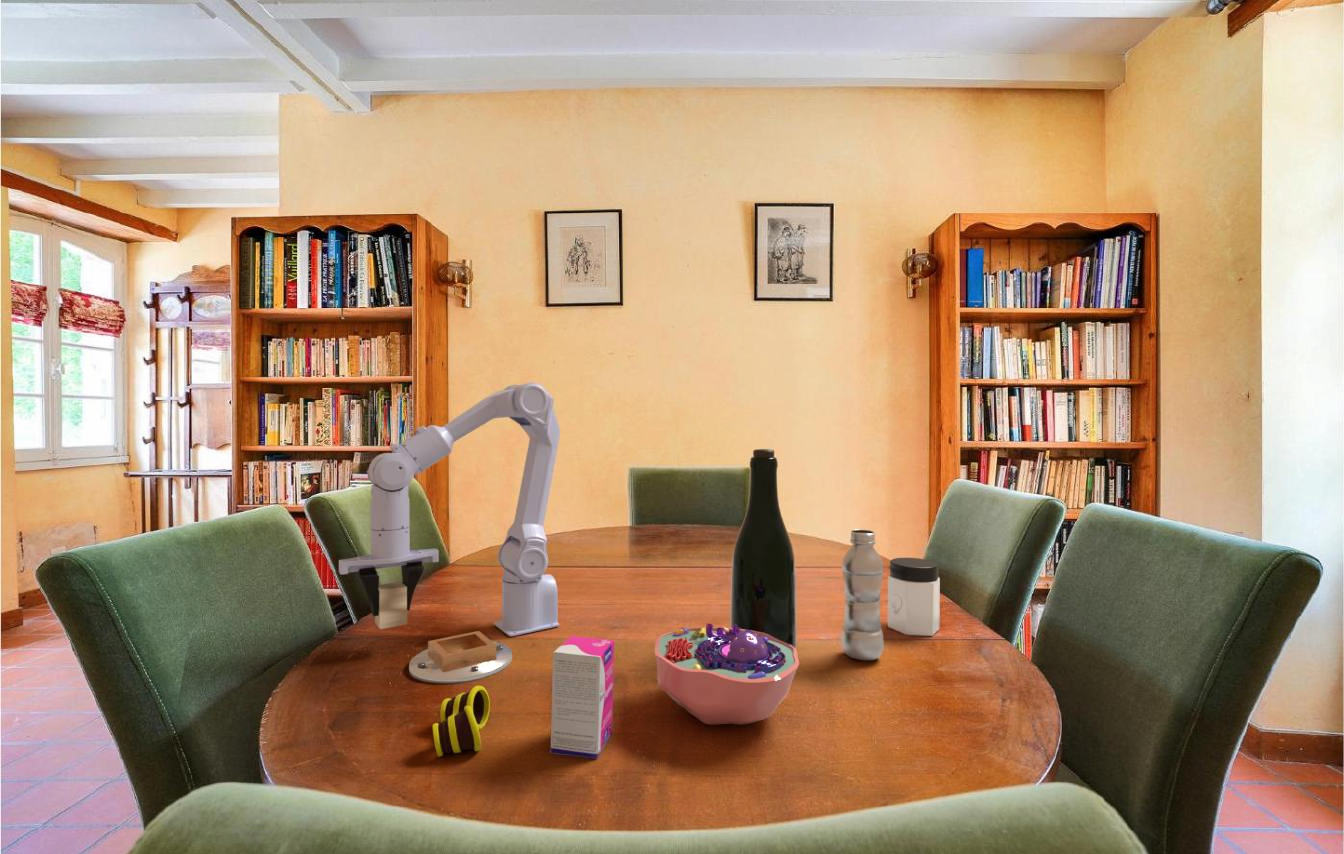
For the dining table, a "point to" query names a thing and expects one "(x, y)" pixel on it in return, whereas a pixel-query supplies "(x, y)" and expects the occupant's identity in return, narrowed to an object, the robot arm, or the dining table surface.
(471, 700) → the opera glasses
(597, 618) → the dining table surface
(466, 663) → the tray on oval base
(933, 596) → the jar
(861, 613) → the plastic bottle
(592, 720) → the supplement box
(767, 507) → the wine bottle
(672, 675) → the cell model
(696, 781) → the dining table surface
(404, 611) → the beige wooden block
